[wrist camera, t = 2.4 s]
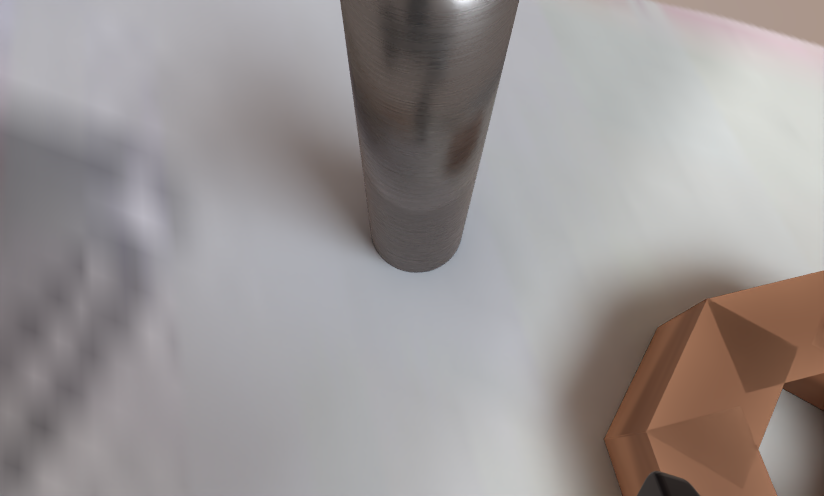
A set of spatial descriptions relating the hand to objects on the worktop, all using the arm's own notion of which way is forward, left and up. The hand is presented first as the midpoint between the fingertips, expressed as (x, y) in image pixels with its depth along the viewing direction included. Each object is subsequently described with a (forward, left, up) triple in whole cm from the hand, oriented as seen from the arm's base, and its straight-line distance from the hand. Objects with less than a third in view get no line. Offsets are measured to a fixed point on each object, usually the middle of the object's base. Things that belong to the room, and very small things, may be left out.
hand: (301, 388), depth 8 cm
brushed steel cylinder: (+8, +3, -14) cm, 16 cm away
